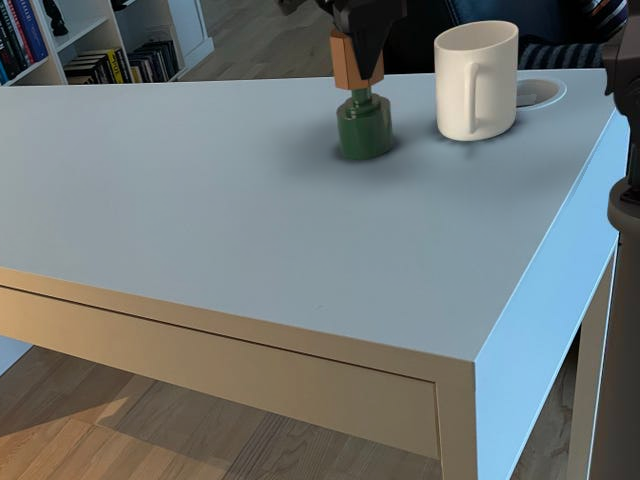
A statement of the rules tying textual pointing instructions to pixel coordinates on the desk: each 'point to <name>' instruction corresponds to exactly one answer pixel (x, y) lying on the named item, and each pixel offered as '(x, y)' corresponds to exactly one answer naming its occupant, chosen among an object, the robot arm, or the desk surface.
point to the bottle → (365, 125)
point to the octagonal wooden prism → (350, 64)
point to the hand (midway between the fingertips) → (359, 70)
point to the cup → (476, 79)
